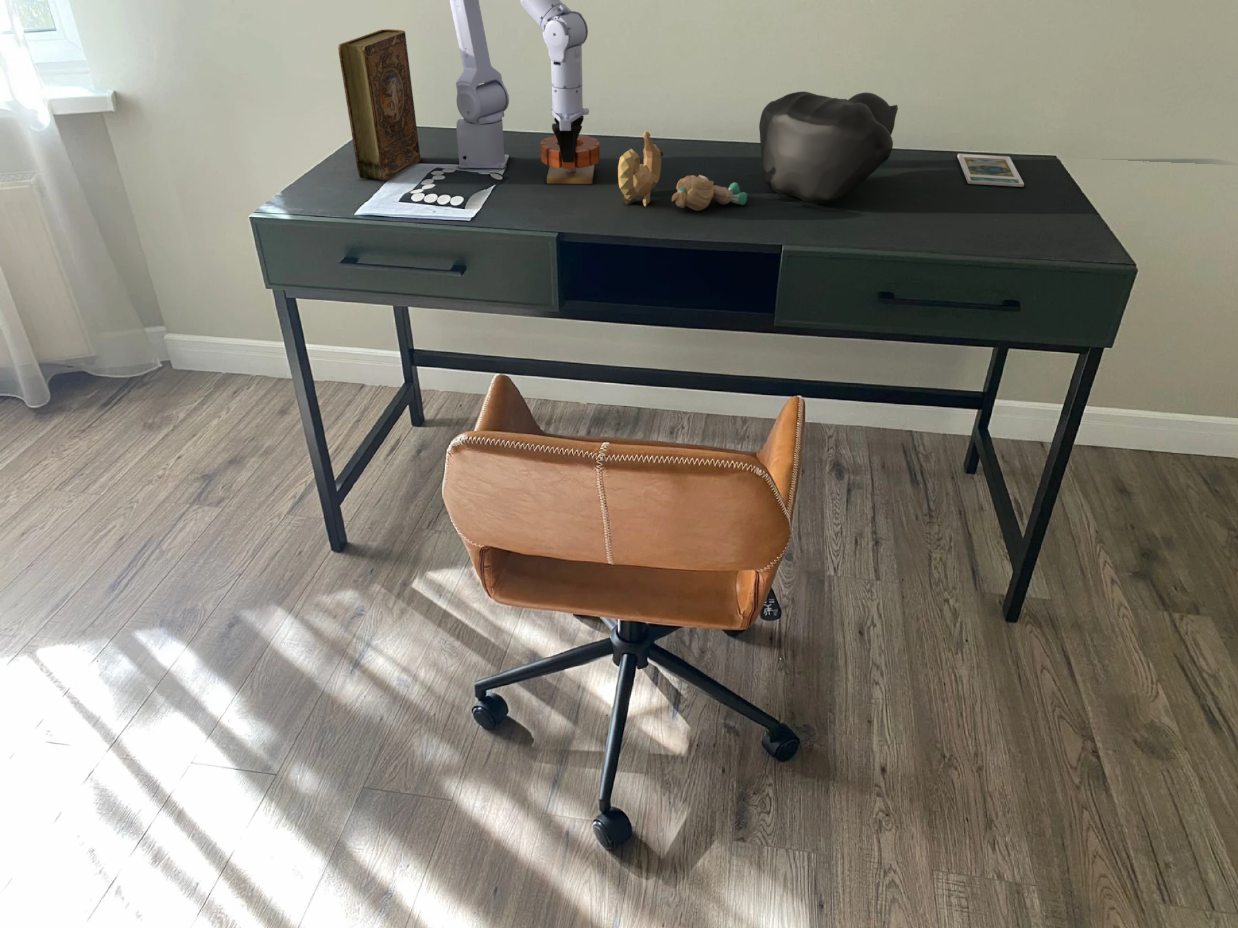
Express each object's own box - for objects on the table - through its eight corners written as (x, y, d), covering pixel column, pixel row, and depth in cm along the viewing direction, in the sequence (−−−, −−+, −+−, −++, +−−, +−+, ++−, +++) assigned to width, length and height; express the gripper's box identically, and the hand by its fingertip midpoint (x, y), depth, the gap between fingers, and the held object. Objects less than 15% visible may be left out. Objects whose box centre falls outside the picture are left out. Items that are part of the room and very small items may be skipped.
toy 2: (756, 182, 167) (686, 163, 160) (749, 220, 168) (679, 204, 161) (732, 185, 174) (664, 168, 167) (726, 222, 175) (658, 206, 169)
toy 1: (608, 151, 158) (644, 120, 173) (608, 218, 165) (643, 182, 180) (637, 154, 156) (671, 122, 171) (636, 222, 163) (668, 186, 178)
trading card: (1009, 156, 193) (1024, 184, 178) (1008, 159, 193) (1023, 187, 179) (957, 153, 194) (968, 180, 180) (957, 156, 195) (967, 183, 180)
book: (400, 156, 193) (383, 29, 178) (423, 159, 192) (408, 30, 177) (359, 180, 180) (337, 45, 166) (383, 183, 179) (363, 47, 164)
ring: (538, 168, 176) (538, 151, 174) (543, 149, 186) (543, 133, 184) (598, 169, 176) (598, 153, 174) (600, 150, 185) (600, 134, 184)
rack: (546, 183, 179) (545, 154, 176) (550, 169, 187) (549, 141, 183) (592, 184, 179) (591, 155, 176) (594, 169, 187) (593, 141, 183)
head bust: (729, 109, 167) (820, 47, 181) (735, 206, 182) (819, 142, 195) (860, 139, 152) (950, 69, 166) (856, 243, 166) (938, 171, 180)
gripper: (586, 95, 163) (587, 170, 171) (590, 76, 175) (591, 147, 183) (547, 94, 163) (550, 170, 171) (553, 76, 175) (556, 147, 183)
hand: (568, 158), depth 177 cm, fingers closed on ring, 3 cm apart
